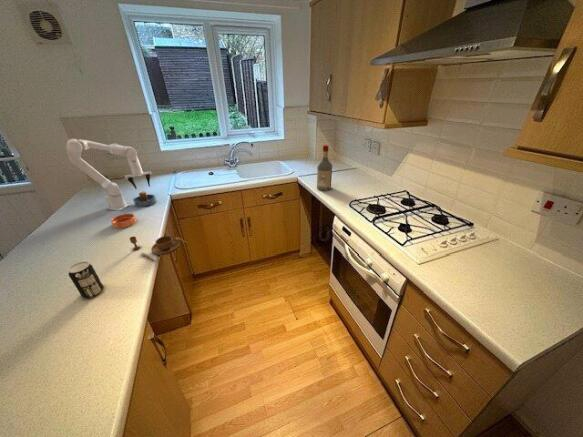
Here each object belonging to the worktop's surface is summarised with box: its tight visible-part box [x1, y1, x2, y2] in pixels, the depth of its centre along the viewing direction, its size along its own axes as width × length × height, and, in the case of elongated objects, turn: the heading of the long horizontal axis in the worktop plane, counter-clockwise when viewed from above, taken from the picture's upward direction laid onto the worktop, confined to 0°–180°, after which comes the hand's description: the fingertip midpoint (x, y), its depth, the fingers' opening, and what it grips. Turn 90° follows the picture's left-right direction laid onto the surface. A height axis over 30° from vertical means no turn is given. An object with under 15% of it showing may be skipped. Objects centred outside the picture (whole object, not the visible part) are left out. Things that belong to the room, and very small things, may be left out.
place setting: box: [129, 235, 188, 262], centre depth 111 cm, size 18×20×6 cm
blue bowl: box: [133, 193, 157, 208], centre depth 155 cm, size 12×12×4 cm
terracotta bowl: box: [110, 212, 138, 230], centre depth 131 cm, size 11×11×4 cm
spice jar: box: [138, 190, 148, 202], centre depth 154 cm, size 4×4×8 cm
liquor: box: [316, 144, 333, 192], centre depth 163 cm, size 9×9×30 cm
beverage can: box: [67, 261, 104, 299], centre depth 85 cm, size 7×7×12 cm
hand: (142, 187), depth 156 cm, fingers open, 7 cm apart
